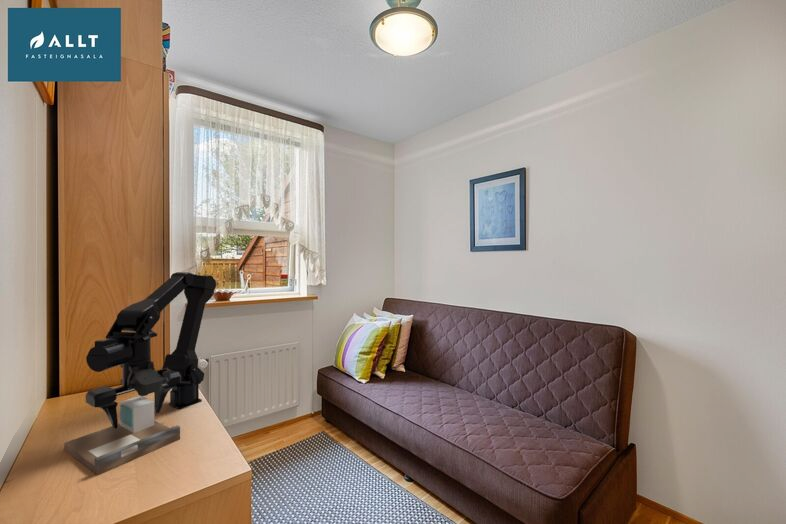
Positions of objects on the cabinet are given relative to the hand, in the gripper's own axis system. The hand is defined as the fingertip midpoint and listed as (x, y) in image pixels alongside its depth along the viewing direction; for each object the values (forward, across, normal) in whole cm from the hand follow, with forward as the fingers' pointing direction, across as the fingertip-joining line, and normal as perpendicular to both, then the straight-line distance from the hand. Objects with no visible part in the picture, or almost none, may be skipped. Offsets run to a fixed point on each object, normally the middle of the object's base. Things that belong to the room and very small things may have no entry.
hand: (137, 420), depth 87 cm
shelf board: (+3, -4, -4) cm, 7 cm away
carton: (+1, 0, 0) cm, 1 cm away
